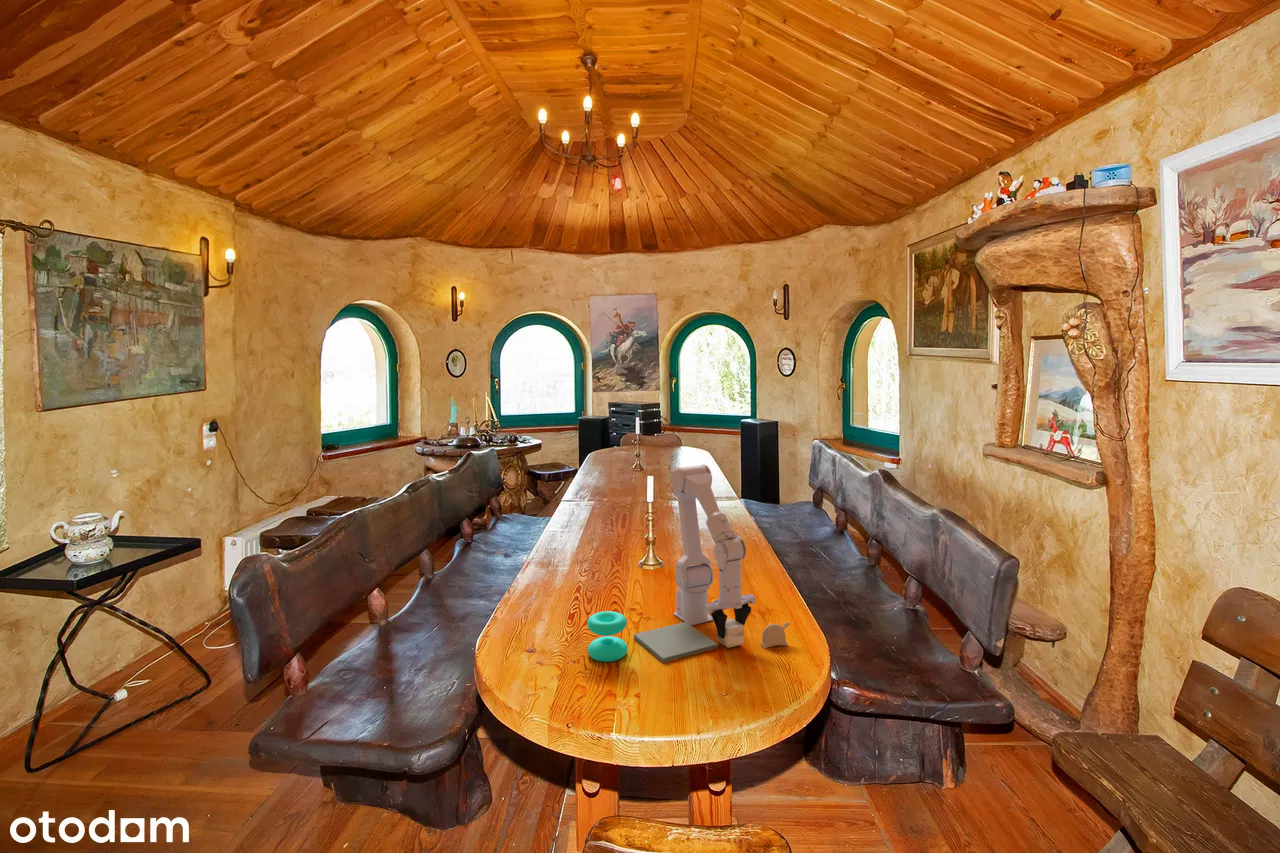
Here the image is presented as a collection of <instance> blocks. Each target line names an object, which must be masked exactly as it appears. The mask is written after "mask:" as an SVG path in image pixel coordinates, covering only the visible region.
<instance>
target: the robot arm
mask: <svg viewBox="0 0 1280 853" xmlns="http://www.w3.org/2000/svg"><path fill="white" fill-rule="evenodd" d="M712 484H713V475H712V471H711V468H710V467H709V465H707V464H701V465H692V466H683V467H682V466H681V467H678V466H677V467H675V468H674V469H673V471H672V474H671V485H672V493H673V496H674V497H677V506H678V514H679V522H680V531H681V540H682V541H681V542H682V547H683V548H682V550H683V555H682V556H681V557H680V558H679V559H678V560H677V561H676V563H675V575H674V578H675V582H676V585H677V587H678V588H677V590H676V594H675V597H676V598H675V599H676V605H675V606H676V611H675V612H673V615H674V616H676V617H677V618H678V619H680V620H682V621H683V622H686V623H688V624H689V625H691V626H695V625H698V624H703V623H707V622H712V621H713V623H714V624H715V625H714V626H715V628H716V634H717V633H718V636H719V637H721V638H722V639H723V638H725V625H726V620H728V615H727V614H726V613H725V612H724V610H728V609H733V612H734V619H735V620H736V621H738V622H740V623H741V624H743V625H744V626H745V625H746V622H747V619H748V617H749V616H750V614H751V613H752V607H751V606H750V604H751V605H753V604H756V596H755V595H753V594H751V593H750V594H743V595H742V560H743V559H745V558H746V554H747V549H746V548H747V547H746V544H745V541H744V539H743V538H742V537H741V536H739V534H738V533H735V531H734V530H733V527H732V525H731V524H730V521H729V519H728V517H727V514H725V513H723V512H720V508H719V506H718V503H717V500H716V498H715V495H714V492H713V489H712ZM696 499H697V500H696ZM696 501H698V503H699V504H700V506H701V507H702V509H703V512H705V515H706V517H707V519H706V520H705V521H706V522H705V525H706V527H707V529H708V531H709V534H710V535H711V538H712V540H713V543H714V548H713V552H714V556H715V559H716V566H717V568H718V598H717V599H716V600H714V601H712V602H709V603H708V601H709V600H708V590H709V589H710V587H711V585H712V584H713V582H714V580H715V574H714V570H713V567H712V564H711V559H710V558H709V557H708V556H705V554H703V553H702V552H703V551H702V544H701V536H700V527H699V520H698V518H699V517H698V509H697V502H696Z"/></svg>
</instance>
